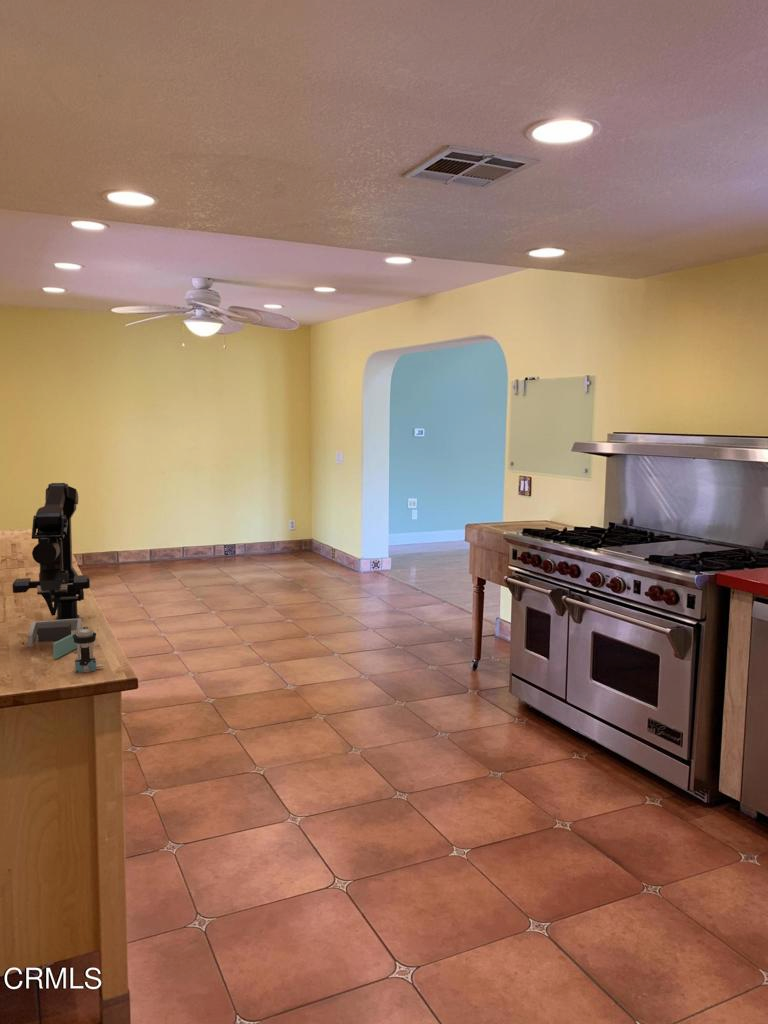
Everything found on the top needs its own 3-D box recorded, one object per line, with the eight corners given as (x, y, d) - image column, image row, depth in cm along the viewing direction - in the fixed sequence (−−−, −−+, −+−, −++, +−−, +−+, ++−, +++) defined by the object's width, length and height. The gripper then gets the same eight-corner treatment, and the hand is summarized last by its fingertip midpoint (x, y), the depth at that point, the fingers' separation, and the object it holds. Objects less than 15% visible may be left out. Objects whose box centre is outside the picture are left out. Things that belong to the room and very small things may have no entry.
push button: (102, 665, 190) (101, 626, 189) (104, 672, 185) (102, 632, 184) (73, 668, 188) (72, 629, 186) (74, 675, 183) (72, 635, 181)
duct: (32, 632, 218) (32, 616, 217) (89, 627, 223) (89, 612, 222) (27, 648, 202) (27, 632, 202) (88, 643, 208) (88, 627, 207)
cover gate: (53, 658, 194) (52, 643, 193) (82, 643, 207) (81, 629, 206) (56, 658, 194) (55, 643, 193) (85, 643, 207) (84, 629, 206)
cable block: (40, 637, 214) (39, 623, 213) (71, 635, 216) (70, 621, 215) (38, 642, 209) (37, 628, 208) (69, 640, 211) (69, 626, 211)
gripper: (9, 565, 193) (11, 625, 195) (88, 561, 199) (90, 619, 201) (13, 557, 203) (16, 615, 205) (88, 554, 210) (90, 610, 211)
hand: (53, 615), depth 205 cm, fingers closed
